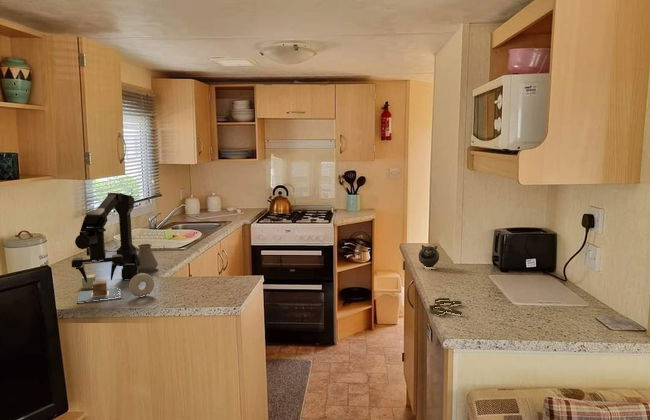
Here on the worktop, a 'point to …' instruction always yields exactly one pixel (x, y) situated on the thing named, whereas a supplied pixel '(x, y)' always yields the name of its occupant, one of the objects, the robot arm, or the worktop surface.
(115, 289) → the board
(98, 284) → the walnut cube
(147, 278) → the donut
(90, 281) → the sage cube
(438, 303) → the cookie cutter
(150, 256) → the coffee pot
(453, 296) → the worktop surface
